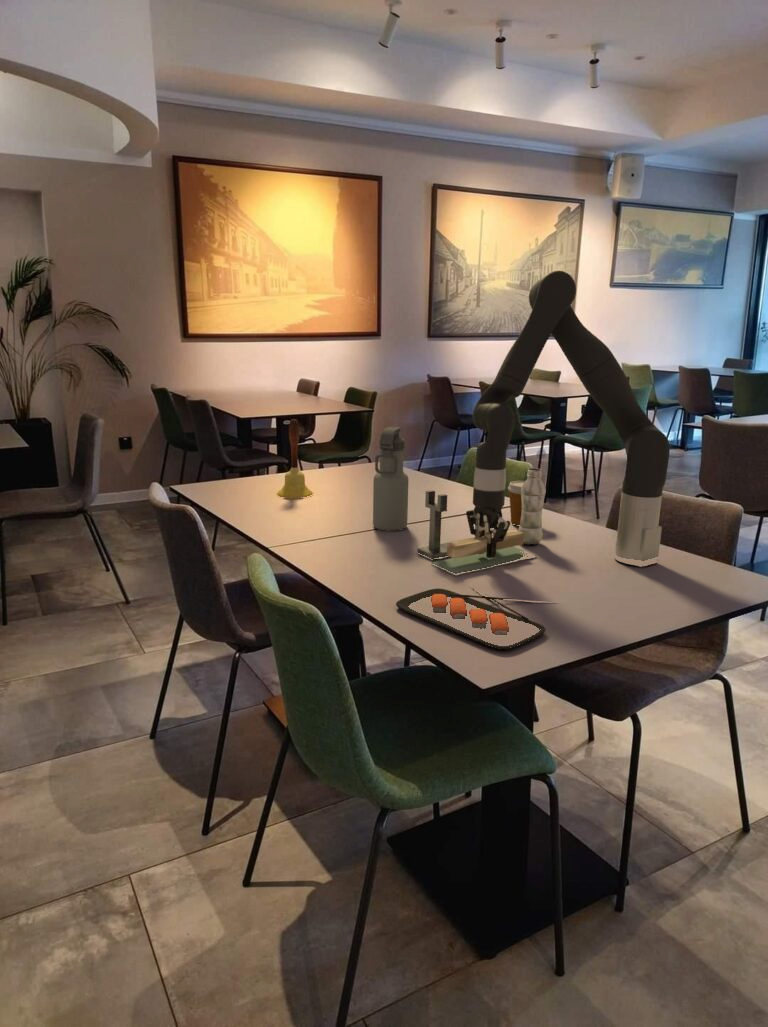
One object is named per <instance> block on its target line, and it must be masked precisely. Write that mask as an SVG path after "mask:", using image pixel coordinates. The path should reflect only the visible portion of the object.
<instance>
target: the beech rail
mask: <svg viewBox="0 0 768 1027" xmlns="http://www.w3.org/2000/svg"><path fill="white" fill-rule="evenodd" d="M471 538H472V539H469V538H465V539H466V540H464V539H460V540H461V541H459V540H455V541H456V542H454V541H450V542H451V543H448V542H446V543H447V556H449V557H448V558H454V559H456V558H461V557H466V556H470V555H475V554H480V553H485V552H487V543H488V542H487V536H482V537H477V538H474V537H471ZM492 538H493V533H492ZM523 538H524V533H522V532H520V531H518V530H516V529H514V530H508V531H507V533H506V535H505V538H504V540H503V541H502V542H497V544H496V550H499V549H504V548H509V547H517V546H518V547H519V546H522V545H524V543H523Z"/></svg>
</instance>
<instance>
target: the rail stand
mask: <svg viewBox="0 0 768 1027" xmlns="http://www.w3.org/2000/svg"><path fill="white" fill-rule="evenodd" d="M424 505H425V506H424V507H425V508H428V509H429V527H428V528H429V531H428V534H429V535H428V546H424V547H418V548H417V552H418V553H420V554H422V555H425V556H427V557H429V558H431V559H434V558H439V557H445V556H447V543H451V542H452V541H449V542H444V543H441V534H442V513H444V512H447V511H448V495H447V494H445V493H442V494H437V502H436V491H435V490H434V489H432V490H431V489H430V490H425V504H424ZM481 532H482V530H481ZM486 536H487V534H486ZM472 538H475V536H474V537H471V538H468V539H472ZM466 539H467V538H464V539H463V540H466ZM461 540H462V539H460V540H458V541H461ZM456 541H457V540H455V541H453V542H456ZM417 552H416V553H417Z"/></svg>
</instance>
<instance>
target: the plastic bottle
mask: <svg viewBox="0 0 768 1027" xmlns="http://www.w3.org/2000/svg"><path fill="white" fill-rule="evenodd" d="M542 470H543V469H541V468H536V467H532V468H531V467H530V468H527V474H526V477H527V478H526V480H524V481H525V482H524V484H523V485H522V487H521V498H522V514H521V521H520V526H519V527H518V530H517V531H520V532H522V533H524V538H523V545H524V544H525V545H530V544H534V545H538V543H539V544H541V541H542V539H543V527H542V523H543V522H542V515H543V506H544V503H545V502H544V501H545V498H546V491H547V490H546V486H545V484H544V482H543V481H542V476H543V474H542V473H543V471H542Z"/></svg>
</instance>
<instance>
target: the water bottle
mask: <svg viewBox="0 0 768 1027" xmlns="http://www.w3.org/2000/svg"><path fill="white" fill-rule="evenodd" d="M400 433H401V427H399V426H388V427H385V428H383V430H382V431H381V434H380V438H379V439H378V442H379V448H378V451H379V454H377V455H376V456H375V459H374V460H375V462H374V467H375V468H374V469H375V472H376V473H375V474H374V475H373V483H372V484H373V485H372V486H373V492H372V496H373V498H372V499H373V500H372V525H373V527H374V528H375V529H376V530H377V529H378V530H379V529H381V530H380V531H384V530H398V531H402V530H404V529H406V528H407V527H408V515H409V514H408V512H409V511H408V509H409V476H408V474H407V473H406V472H404V451H405V439H404V438H403V437H400ZM401 529H402V530H401Z"/></svg>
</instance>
